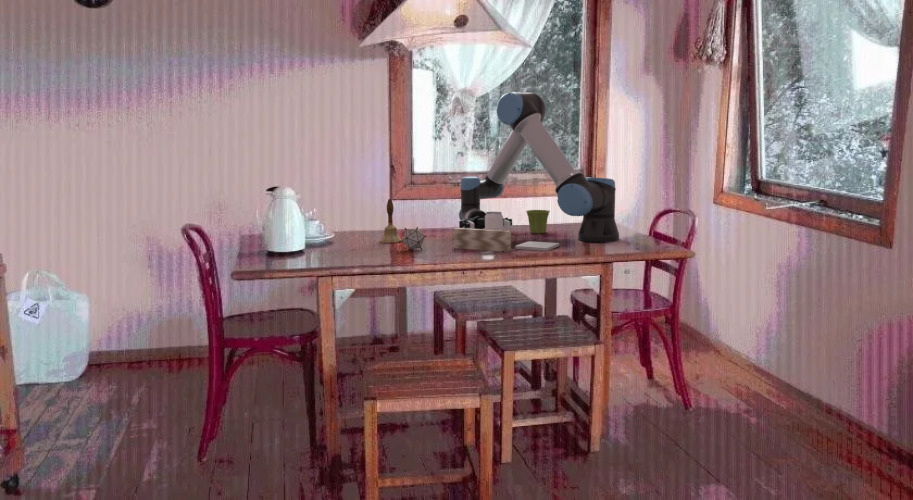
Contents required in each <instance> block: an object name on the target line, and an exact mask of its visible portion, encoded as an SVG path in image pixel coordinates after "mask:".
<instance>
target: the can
mask: <svg viewBox="0 0 913 500" xmlns="http://www.w3.org/2000/svg"><path fill="white" fill-rule="evenodd" d="M485 213H486V216H485V228H484V229H487V230H504V226H503V218H504V217H503V213H502V211H486V212H485Z"/></svg>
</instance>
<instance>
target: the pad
mask: <svg viewBox="0 0 913 500" xmlns="http://www.w3.org/2000/svg"><path fill="white" fill-rule="evenodd" d="M558 247H560V242H546V241H545V242H544V241H532V240H531V241H530V240H528V241H525V242H522V243H520V244H517V245H514V249H515V250H528V251H540V252H547V251H551V250H553V249H555V248H558Z"/></svg>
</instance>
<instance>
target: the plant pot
mask: <svg viewBox="0 0 913 500" xmlns="http://www.w3.org/2000/svg"><path fill="white" fill-rule="evenodd" d="M525 212H526V214H527V218H528V225H529V232H530V233H531V234H542V233H543V234H545V233H546V232H547V224H548V217H549V215H550V212H551V211H550V210H548V209H547V210H546V209H529V210H525Z"/></svg>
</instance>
